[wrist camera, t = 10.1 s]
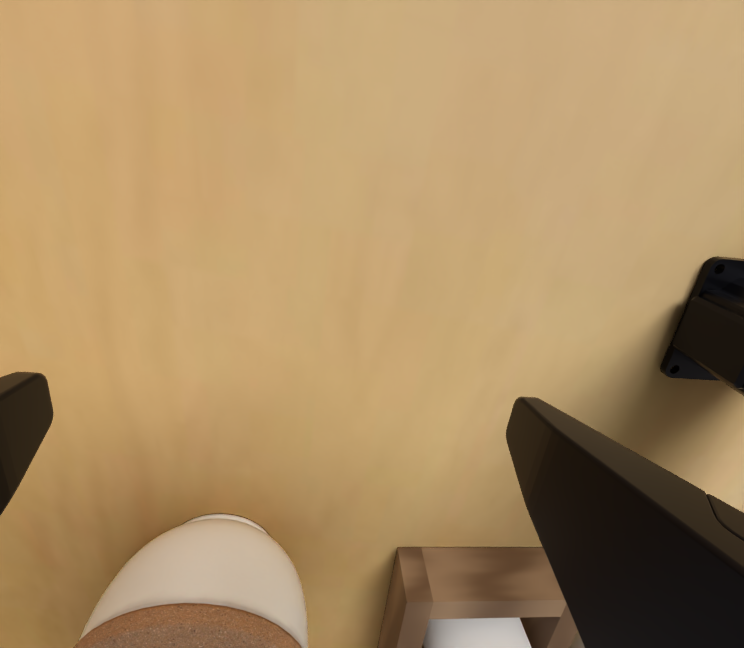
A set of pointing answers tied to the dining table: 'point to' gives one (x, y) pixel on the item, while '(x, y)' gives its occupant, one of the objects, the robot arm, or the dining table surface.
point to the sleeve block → (474, 593)
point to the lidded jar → (203, 592)
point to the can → (476, 633)
